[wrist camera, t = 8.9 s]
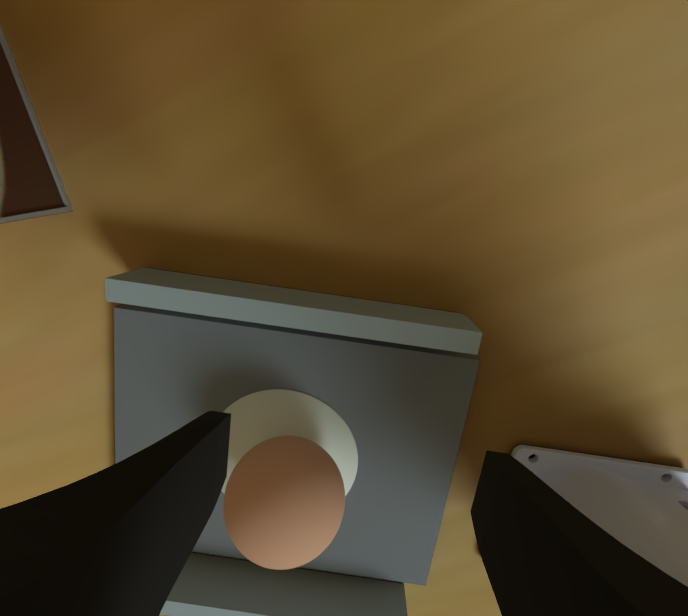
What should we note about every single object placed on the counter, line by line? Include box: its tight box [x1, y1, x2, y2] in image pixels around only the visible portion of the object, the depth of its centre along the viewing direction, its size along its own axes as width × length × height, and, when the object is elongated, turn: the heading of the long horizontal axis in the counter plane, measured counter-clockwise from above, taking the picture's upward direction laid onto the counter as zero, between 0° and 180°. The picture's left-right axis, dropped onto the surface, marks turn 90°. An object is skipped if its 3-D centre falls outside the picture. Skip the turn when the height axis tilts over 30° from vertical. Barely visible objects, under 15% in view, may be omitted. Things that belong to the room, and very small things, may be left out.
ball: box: [223, 436, 345, 570], centre depth 18 cm, size 6×6×6 cm
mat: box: [114, 304, 480, 586], centre depth 21 cm, size 18×14×1 cm
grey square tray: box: [105, 268, 483, 616], centre depth 20 cm, size 16×18×3 cm
